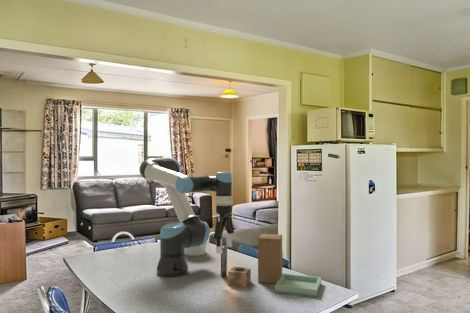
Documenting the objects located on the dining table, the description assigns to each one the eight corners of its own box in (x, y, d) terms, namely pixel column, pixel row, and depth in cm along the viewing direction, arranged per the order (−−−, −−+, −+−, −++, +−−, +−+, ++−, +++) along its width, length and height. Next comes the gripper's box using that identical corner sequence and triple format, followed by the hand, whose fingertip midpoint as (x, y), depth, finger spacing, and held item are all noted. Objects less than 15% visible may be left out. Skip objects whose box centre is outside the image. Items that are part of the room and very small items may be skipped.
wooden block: (280, 284, 168) (280, 238, 168) (257, 282, 170) (257, 237, 170) (282, 277, 178) (282, 234, 178) (261, 275, 180) (260, 233, 180)
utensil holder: (205, 256, 216) (205, 225, 216) (179, 256, 216) (179, 225, 216) (207, 249, 230) (207, 220, 231) (183, 249, 231) (183, 220, 231)
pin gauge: (219, 277, 178) (219, 247, 178) (222, 275, 181) (222, 245, 181) (225, 277, 177) (225, 247, 177) (228, 275, 180) (228, 246, 180)
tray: (274, 292, 157) (274, 285, 157) (283, 280, 173) (283, 273, 173) (316, 297, 152) (316, 289, 152) (321, 284, 168) (321, 277, 168)
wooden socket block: (228, 285, 167) (228, 271, 167) (233, 279, 174) (233, 266, 174) (245, 287, 164) (245, 273, 164) (250, 281, 172) (250, 268, 172)
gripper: (222, 208, 166) (222, 256, 166) (239, 202, 190) (240, 244, 189) (206, 207, 168) (206, 255, 168) (225, 201, 192) (226, 243, 192)
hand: (224, 250), depth 179 cm, fingers open, 13 cm apart
